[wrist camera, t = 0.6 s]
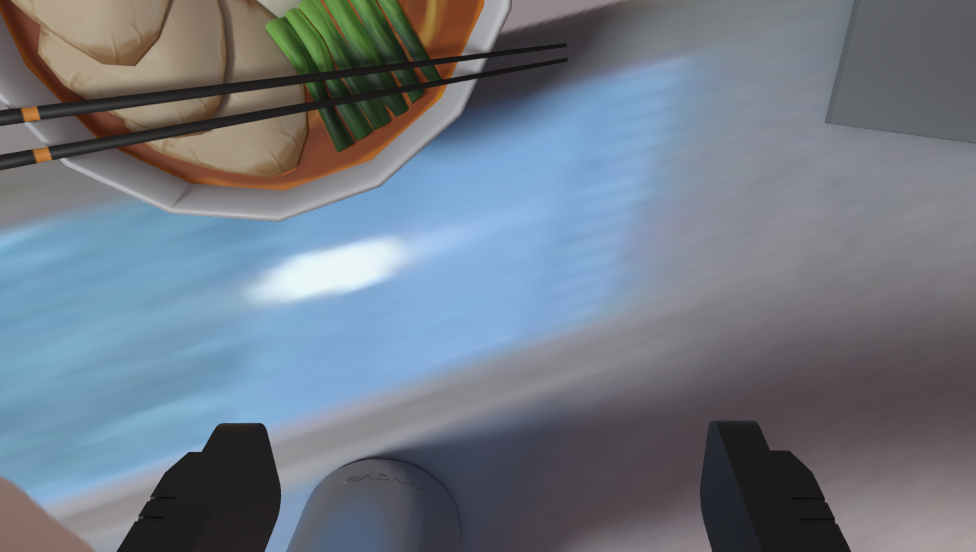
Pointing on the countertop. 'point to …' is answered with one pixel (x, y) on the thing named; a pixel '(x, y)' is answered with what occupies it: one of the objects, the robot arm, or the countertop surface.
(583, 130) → the countertop surface
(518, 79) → the countertop surface
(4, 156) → the ramen bowl
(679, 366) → the countertop surface
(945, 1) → the slate mat
